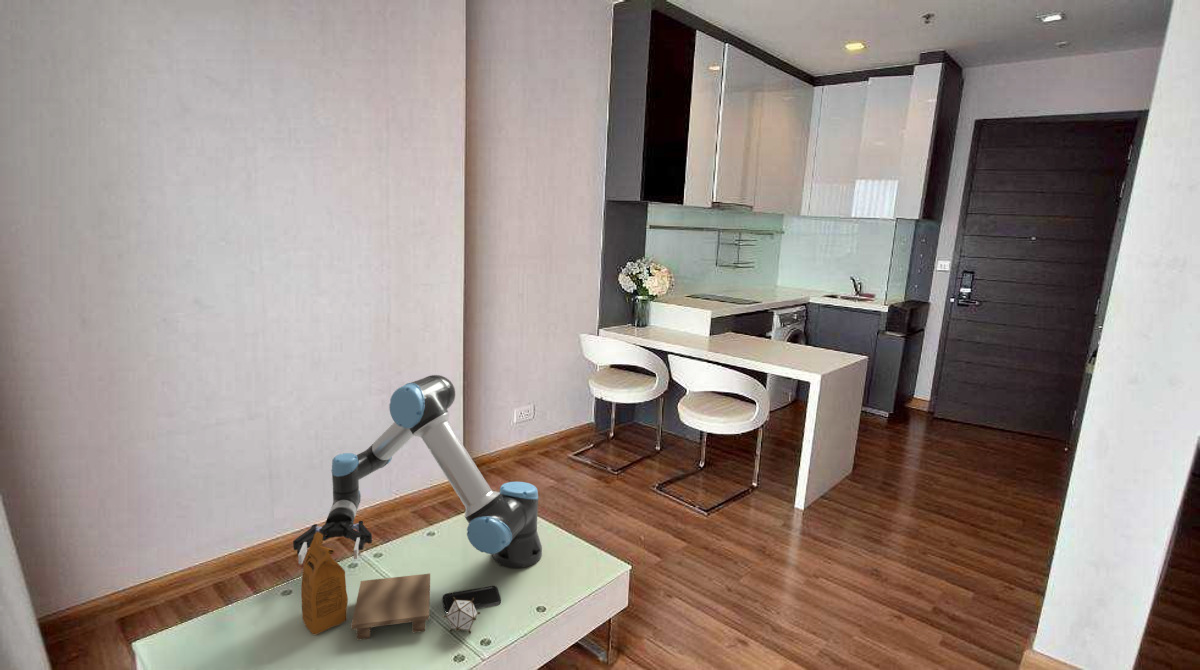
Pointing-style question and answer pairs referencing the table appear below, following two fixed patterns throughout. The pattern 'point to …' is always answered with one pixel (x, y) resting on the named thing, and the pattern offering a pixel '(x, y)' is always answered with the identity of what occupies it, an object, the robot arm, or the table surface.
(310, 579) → the coffee package
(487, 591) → the phone
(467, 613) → the game die
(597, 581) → the table surface
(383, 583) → the small wooden platform
